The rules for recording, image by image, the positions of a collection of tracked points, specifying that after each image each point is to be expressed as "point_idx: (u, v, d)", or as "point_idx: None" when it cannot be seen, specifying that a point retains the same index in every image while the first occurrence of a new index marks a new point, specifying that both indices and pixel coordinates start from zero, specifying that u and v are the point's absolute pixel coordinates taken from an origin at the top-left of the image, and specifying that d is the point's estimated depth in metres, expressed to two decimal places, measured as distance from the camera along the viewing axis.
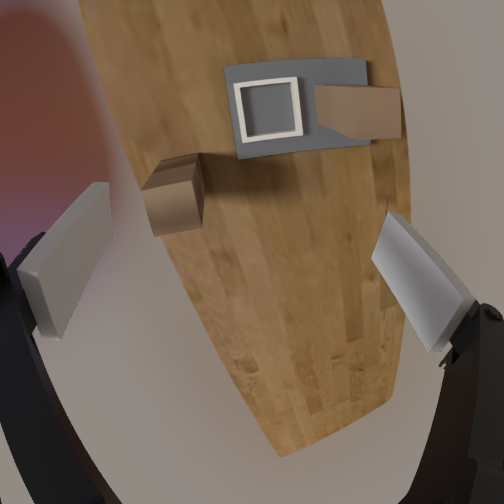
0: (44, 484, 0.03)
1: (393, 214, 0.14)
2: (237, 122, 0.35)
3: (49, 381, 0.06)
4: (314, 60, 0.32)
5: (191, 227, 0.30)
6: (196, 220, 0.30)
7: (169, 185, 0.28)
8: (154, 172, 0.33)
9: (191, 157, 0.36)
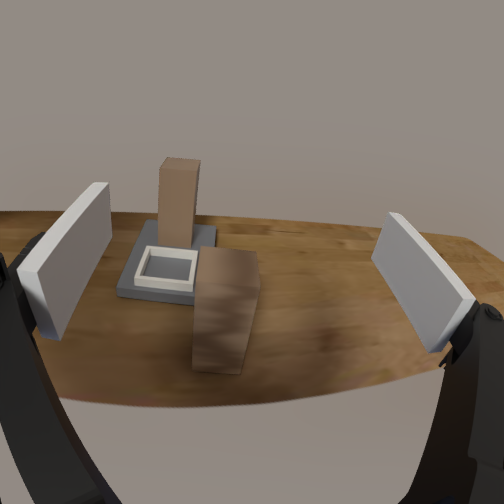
0: (44, 484, 0.03)
1: (393, 214, 0.14)
2: (172, 290, 0.37)
3: (49, 381, 0.06)
4: (138, 240, 0.45)
5: (254, 257, 0.27)
6: (247, 252, 0.28)
7: (199, 259, 0.26)
8: (193, 332, 0.27)
9: None
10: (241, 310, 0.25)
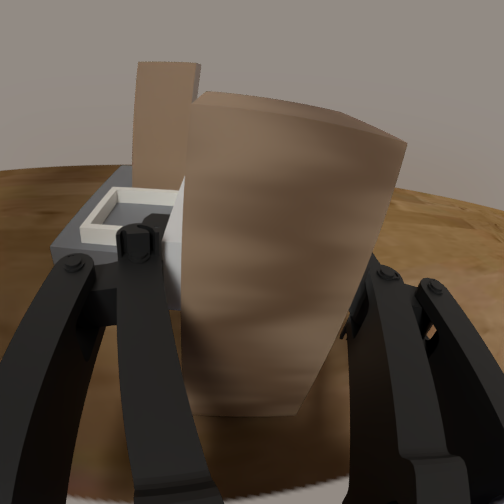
0: (151, 454, 0.04)
1: None
2: None
3: None
4: (103, 186, 0.27)
5: (343, 114, 0.10)
6: (321, 108, 0.10)
7: (204, 95, 0.08)
8: (181, 319, 0.09)
9: None
10: (340, 231, 0.08)
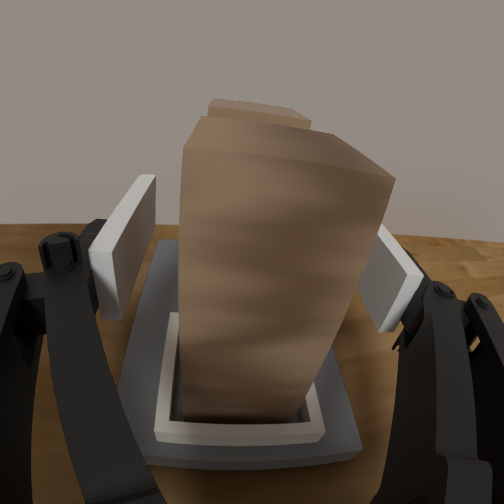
0: (94, 465, 0.03)
1: None
2: (266, 449, 0.12)
3: None
4: (145, 293, 0.20)
5: (336, 139, 0.10)
6: (315, 132, 0.11)
7: (198, 126, 0.09)
8: None
9: None
10: (328, 263, 0.08)
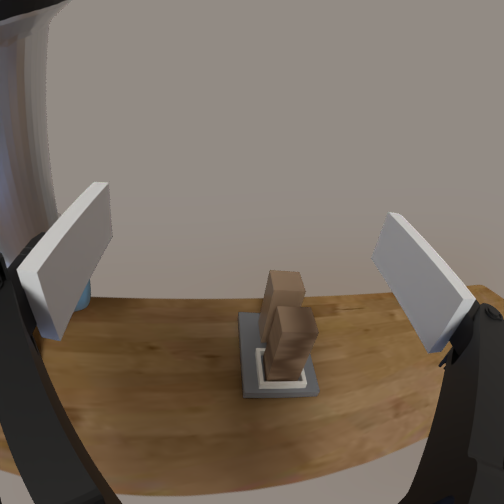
0: (44, 484, 0.03)
1: (393, 214, 0.14)
2: (290, 389, 0.45)
3: (49, 381, 0.06)
4: (242, 339, 0.53)
5: (310, 312, 0.43)
6: (305, 308, 0.44)
7: (279, 316, 0.42)
8: (273, 359, 0.43)
9: (265, 354, 0.48)
10: (305, 345, 0.41)
